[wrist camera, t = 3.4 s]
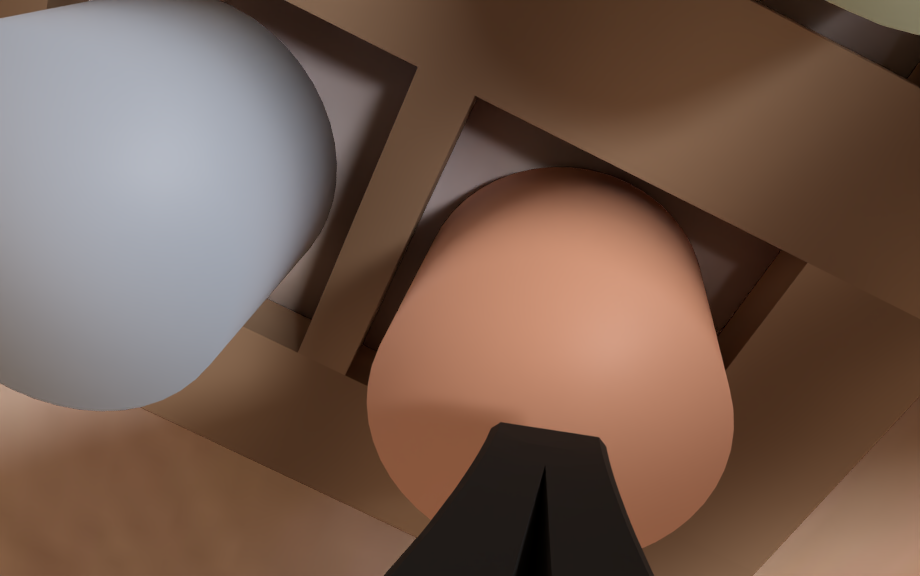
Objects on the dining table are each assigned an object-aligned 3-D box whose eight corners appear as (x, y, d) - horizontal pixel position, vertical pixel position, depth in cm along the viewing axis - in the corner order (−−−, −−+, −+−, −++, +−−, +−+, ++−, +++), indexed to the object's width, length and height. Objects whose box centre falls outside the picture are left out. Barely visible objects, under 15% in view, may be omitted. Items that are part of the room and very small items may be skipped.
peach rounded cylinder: (761, 249, 14) (815, 369, 10) (613, 456, 16) (614, 611, 13) (493, 115, 14) (453, 192, 10) (382, 345, 16) (318, 472, 12)
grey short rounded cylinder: (382, 81, 13) (293, 152, 9) (281, 333, 15) (179, 468, 11) (78, -71, 12) (-138, -60, 9) (25, 209, 15) (-161, 308, 11)
